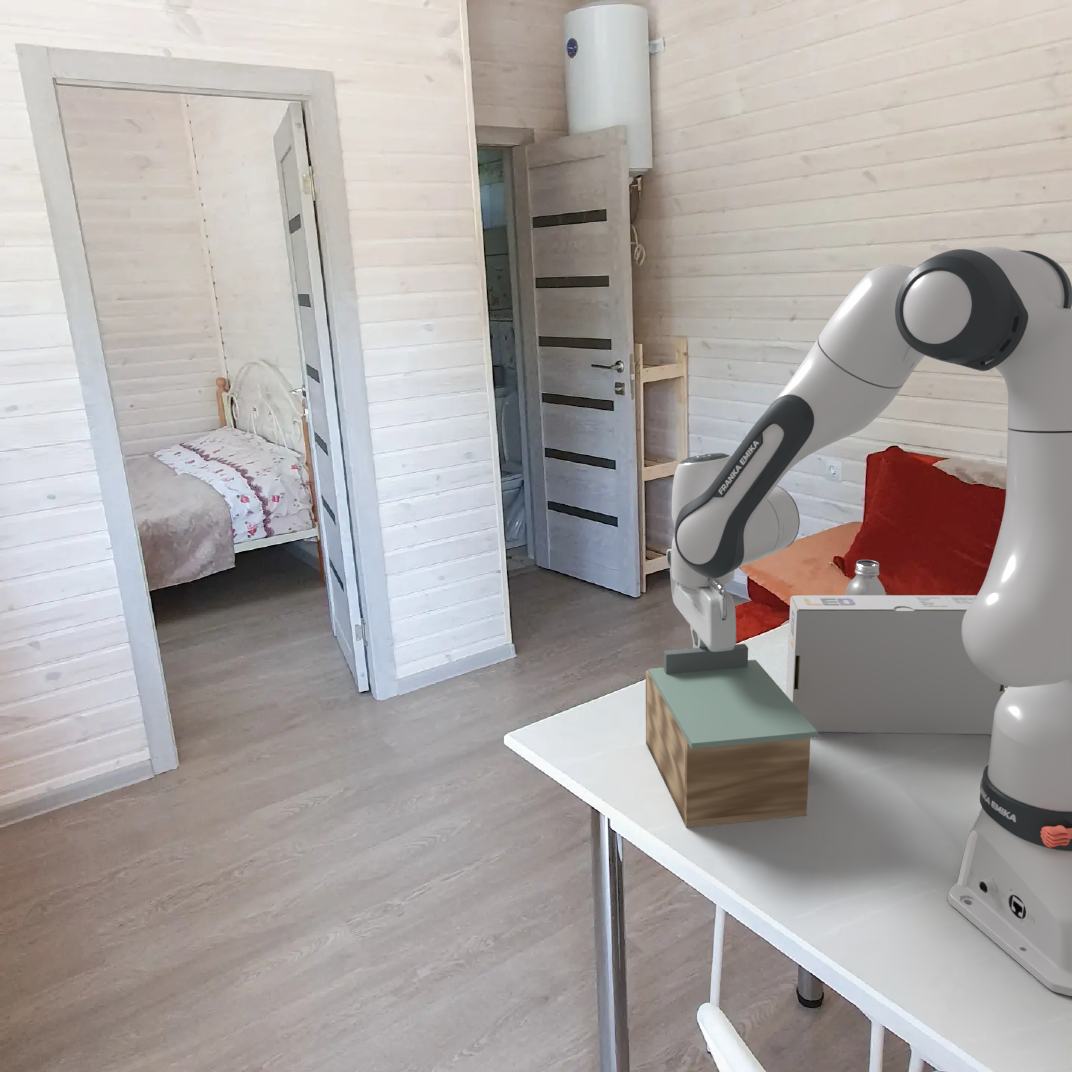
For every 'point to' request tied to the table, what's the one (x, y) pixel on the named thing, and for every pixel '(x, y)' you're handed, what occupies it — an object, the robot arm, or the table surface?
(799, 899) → the table surface
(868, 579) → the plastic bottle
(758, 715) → the lid
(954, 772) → the table surface
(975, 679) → the packaging
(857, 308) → the robot arm
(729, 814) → the wooden box
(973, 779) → the table surface
